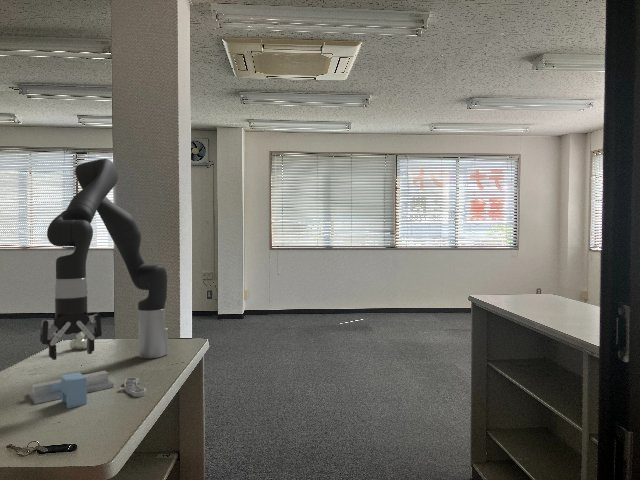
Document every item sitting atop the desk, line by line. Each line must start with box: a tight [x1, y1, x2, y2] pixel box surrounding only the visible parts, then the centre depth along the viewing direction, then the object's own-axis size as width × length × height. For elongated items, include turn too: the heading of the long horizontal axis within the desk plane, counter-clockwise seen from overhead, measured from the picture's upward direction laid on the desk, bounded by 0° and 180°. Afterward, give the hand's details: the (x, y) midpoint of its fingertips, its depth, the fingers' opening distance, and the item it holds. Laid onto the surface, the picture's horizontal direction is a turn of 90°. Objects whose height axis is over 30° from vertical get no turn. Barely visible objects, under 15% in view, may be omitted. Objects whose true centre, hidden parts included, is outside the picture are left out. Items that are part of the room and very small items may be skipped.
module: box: [60, 371, 88, 409], centre depth 123 cm, size 4×7×7 cm
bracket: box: [118, 376, 147, 398], centre depth 134 cm, size 8×2×15 cm
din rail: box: [27, 370, 115, 405], centre depth 133 cm, size 20×10×4 cm, turn 131°
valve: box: [69, 331, 88, 350], centre depth 181 cm, size 7×7×12 cm
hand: (72, 356), depth 123 cm, fingers open, 8 cm apart
